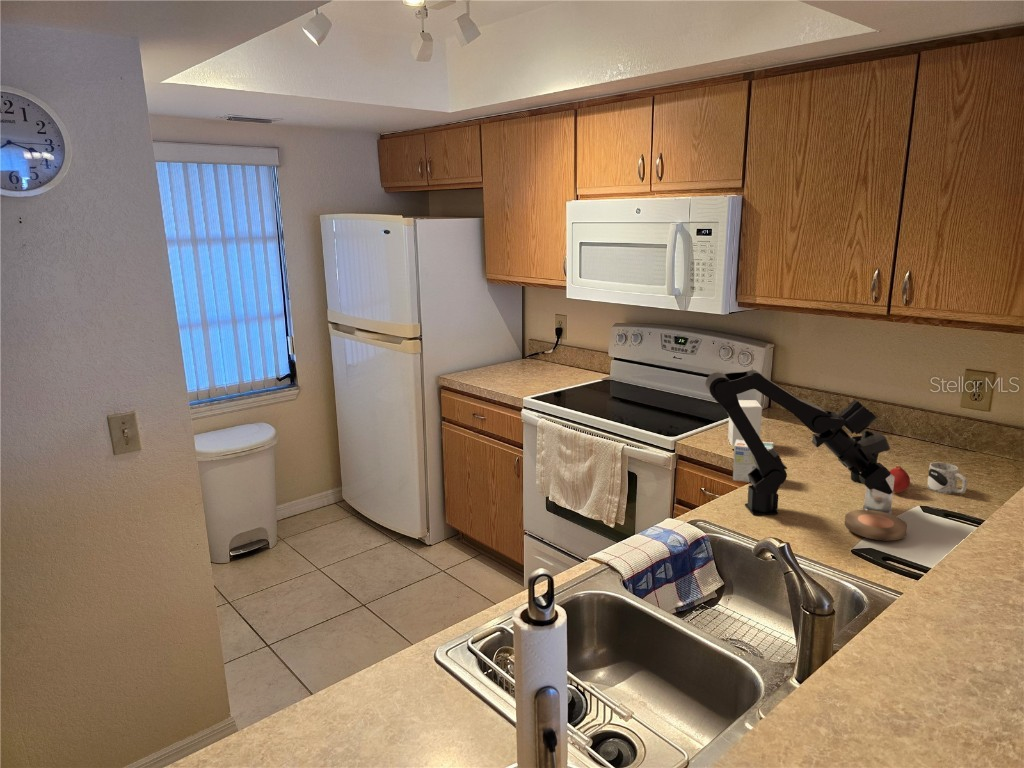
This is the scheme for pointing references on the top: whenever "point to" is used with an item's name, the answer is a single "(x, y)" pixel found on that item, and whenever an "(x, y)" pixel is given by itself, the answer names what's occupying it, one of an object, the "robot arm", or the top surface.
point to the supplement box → (754, 416)
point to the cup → (856, 477)
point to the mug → (945, 478)
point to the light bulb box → (744, 460)
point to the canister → (879, 498)
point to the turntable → (875, 525)
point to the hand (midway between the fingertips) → (885, 488)
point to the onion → (900, 479)
